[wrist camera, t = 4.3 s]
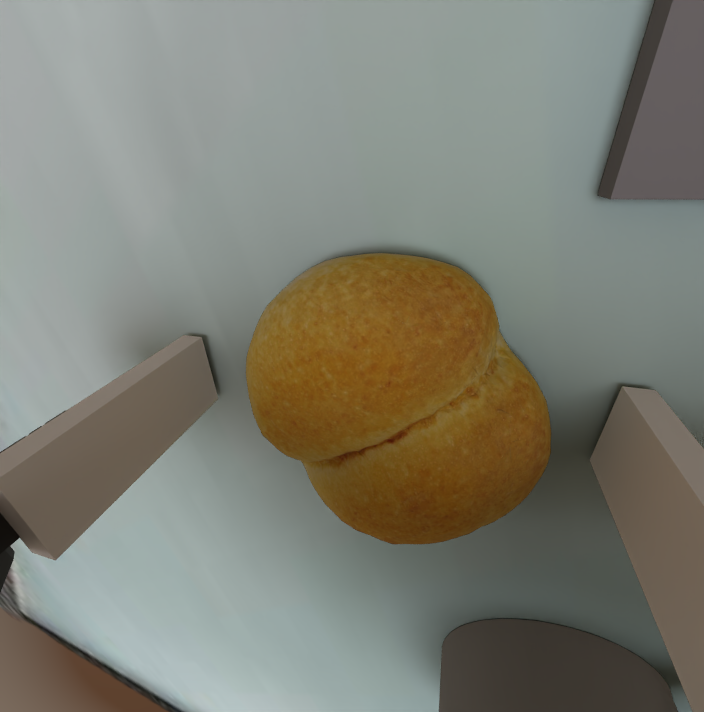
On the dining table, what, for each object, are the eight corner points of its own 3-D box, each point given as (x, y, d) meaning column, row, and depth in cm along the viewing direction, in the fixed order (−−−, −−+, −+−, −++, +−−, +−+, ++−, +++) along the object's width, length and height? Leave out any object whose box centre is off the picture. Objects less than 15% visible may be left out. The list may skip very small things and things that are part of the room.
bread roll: (426, 180, 8) (400, 194, 5) (575, 443, 11) (626, 571, 7) (225, 331, 12) (137, 394, 9) (365, 498, 15) (335, 598, 11)
